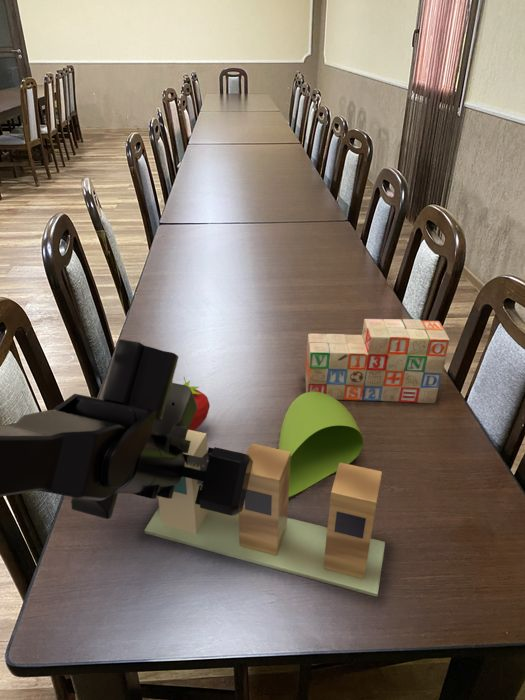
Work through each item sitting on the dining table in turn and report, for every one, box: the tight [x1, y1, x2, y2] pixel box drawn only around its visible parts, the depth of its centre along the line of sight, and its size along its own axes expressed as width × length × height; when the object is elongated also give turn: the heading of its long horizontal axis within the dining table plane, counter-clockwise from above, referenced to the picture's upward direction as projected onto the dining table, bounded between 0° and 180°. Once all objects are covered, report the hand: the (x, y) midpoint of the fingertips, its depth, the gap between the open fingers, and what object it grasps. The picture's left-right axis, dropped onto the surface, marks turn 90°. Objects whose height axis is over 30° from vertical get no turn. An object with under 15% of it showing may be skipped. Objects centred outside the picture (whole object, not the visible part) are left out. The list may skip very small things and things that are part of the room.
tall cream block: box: [157, 430, 209, 534], centre depth 64 cm, size 5×5×12 cm
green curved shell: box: [278, 392, 364, 498], centre depth 76 cm, size 8×12×20 cm
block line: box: [144, 443, 386, 598], centre depth 61 cm, size 7×28×13 cm, turn 73°
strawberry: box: [183, 376, 211, 431], centre depth 78 cm, size 6×8×10 cm
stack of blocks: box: [304, 318, 450, 404], centre depth 88 cm, size 21×6×12 cm, turn 88°
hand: (188, 469), depth 65 cm, fingers open, 7 cm apart
